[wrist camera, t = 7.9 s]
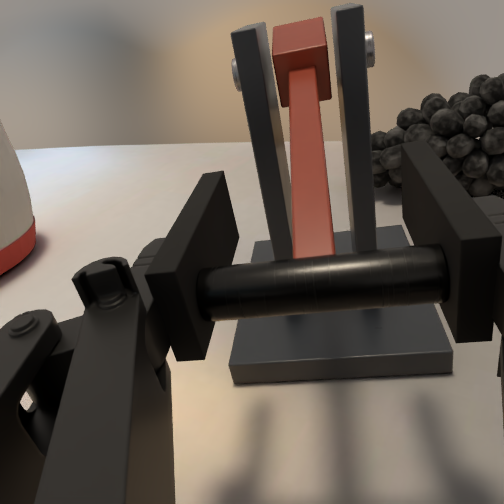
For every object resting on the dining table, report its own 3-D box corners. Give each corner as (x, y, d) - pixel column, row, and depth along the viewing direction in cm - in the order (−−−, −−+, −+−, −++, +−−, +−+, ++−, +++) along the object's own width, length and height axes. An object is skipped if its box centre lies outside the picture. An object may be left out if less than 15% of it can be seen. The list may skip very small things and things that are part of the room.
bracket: (452, 373, 19) (472, -14, 12) (233, 384, 21) (135, 57, 14) (402, 241, 29) (395, -10, 22) (258, 256, 31) (209, 31, 24)
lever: (443, 324, 11) (456, 264, 9) (214, 341, 12) (186, 290, 10) (368, 60, 20) (367, 6, 18) (243, 84, 21) (230, 35, 19)
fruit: (330, 87, 33) (575, 54, 25) (362, 97, 40) (561, 73, 32) (332, 201, 35) (560, 202, 27) (361, 191, 42) (550, 190, 34)
